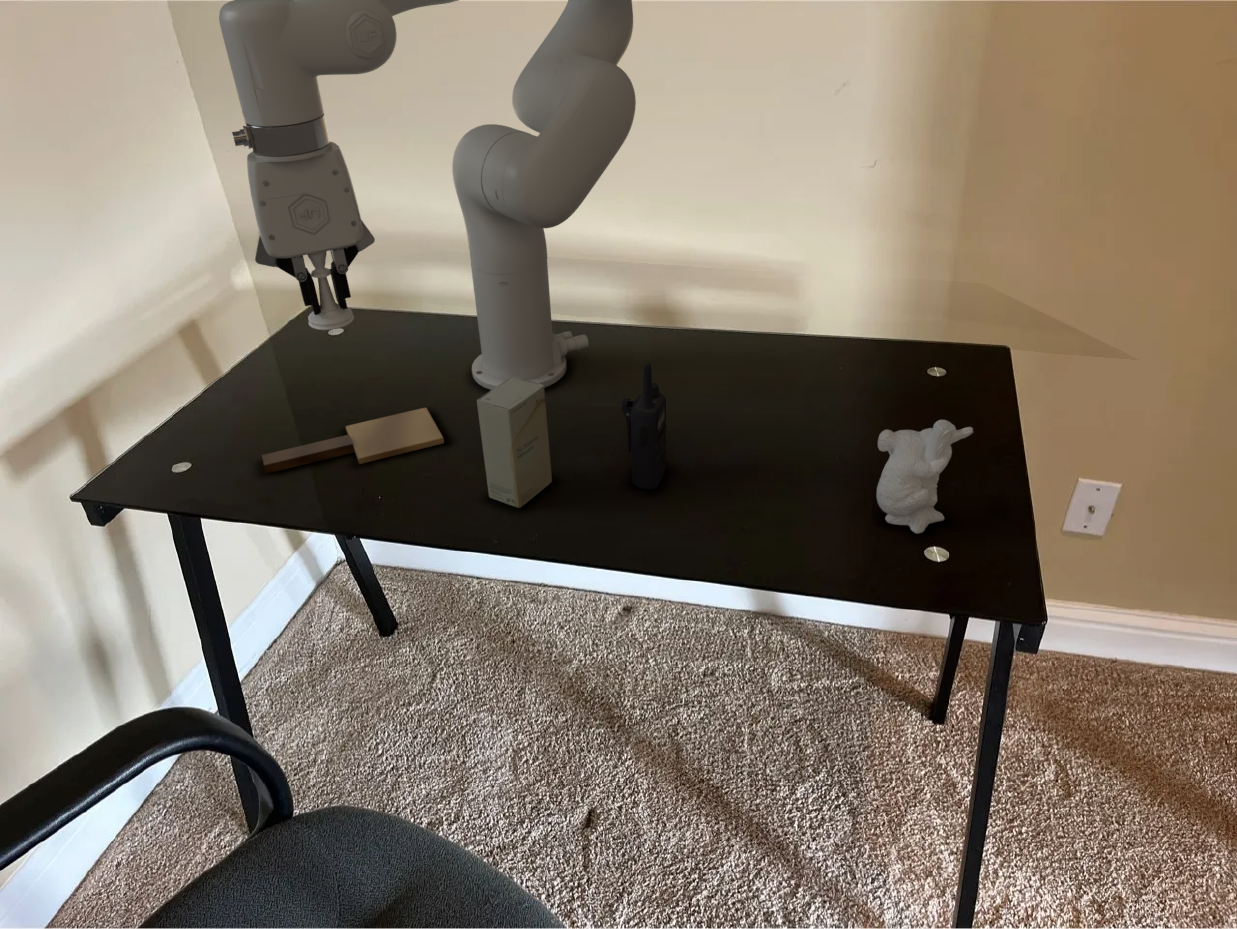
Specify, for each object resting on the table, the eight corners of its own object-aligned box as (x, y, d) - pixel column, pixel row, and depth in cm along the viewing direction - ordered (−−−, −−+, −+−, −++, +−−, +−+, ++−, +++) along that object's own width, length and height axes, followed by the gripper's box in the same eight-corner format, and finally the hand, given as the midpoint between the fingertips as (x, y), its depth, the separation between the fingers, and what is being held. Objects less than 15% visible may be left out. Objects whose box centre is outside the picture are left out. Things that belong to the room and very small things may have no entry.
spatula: (427, 412, 115) (425, 404, 114) (444, 443, 109) (443, 434, 108) (260, 451, 108) (258, 443, 108) (269, 487, 102) (266, 478, 101)
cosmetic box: (519, 510, 97) (509, 411, 90) (486, 498, 99) (474, 400, 92) (554, 480, 102) (546, 384, 95) (521, 469, 104) (512, 374, 97)
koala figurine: (955, 510, 95) (977, 410, 89) (948, 548, 90) (971, 446, 84) (872, 494, 98) (887, 396, 91) (861, 530, 93) (877, 429, 86)
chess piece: (341, 331, 100) (322, 243, 94) (300, 328, 101) (279, 240, 95) (361, 312, 104) (344, 226, 98) (321, 309, 105) (303, 224, 99)
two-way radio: (656, 495, 99) (656, 371, 91) (617, 488, 100) (613, 366, 92) (669, 467, 103) (670, 346, 95) (631, 461, 104) (629, 342, 96)
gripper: (206, 158, 86) (257, 336, 96) (377, 133, 91) (408, 305, 101) (201, 139, 92) (250, 309, 102) (362, 117, 97) (393, 281, 107)
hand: (329, 306), depth 102 cm, fingers closed on chess piece
